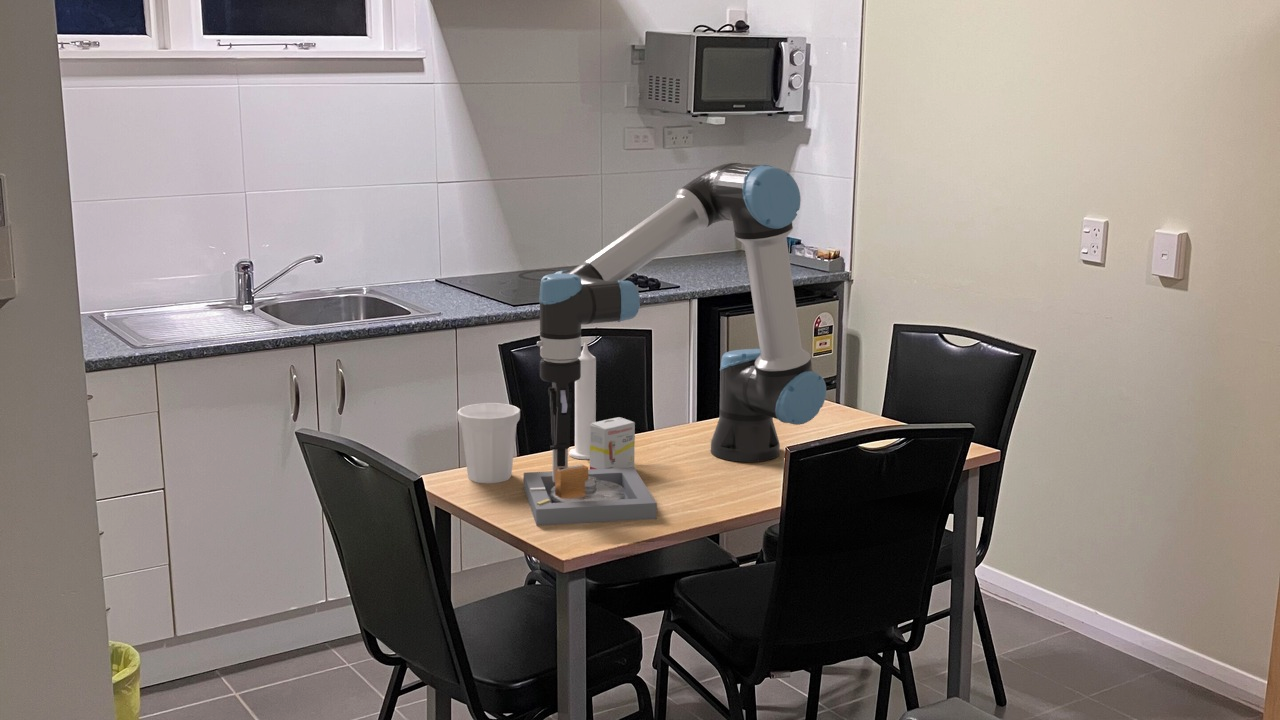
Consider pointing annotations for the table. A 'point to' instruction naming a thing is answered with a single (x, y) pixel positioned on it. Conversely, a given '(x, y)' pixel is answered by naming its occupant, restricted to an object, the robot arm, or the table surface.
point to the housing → (631, 508)
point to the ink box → (612, 444)
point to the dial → (582, 486)
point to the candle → (584, 405)
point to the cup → (489, 440)
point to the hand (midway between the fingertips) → (560, 480)
